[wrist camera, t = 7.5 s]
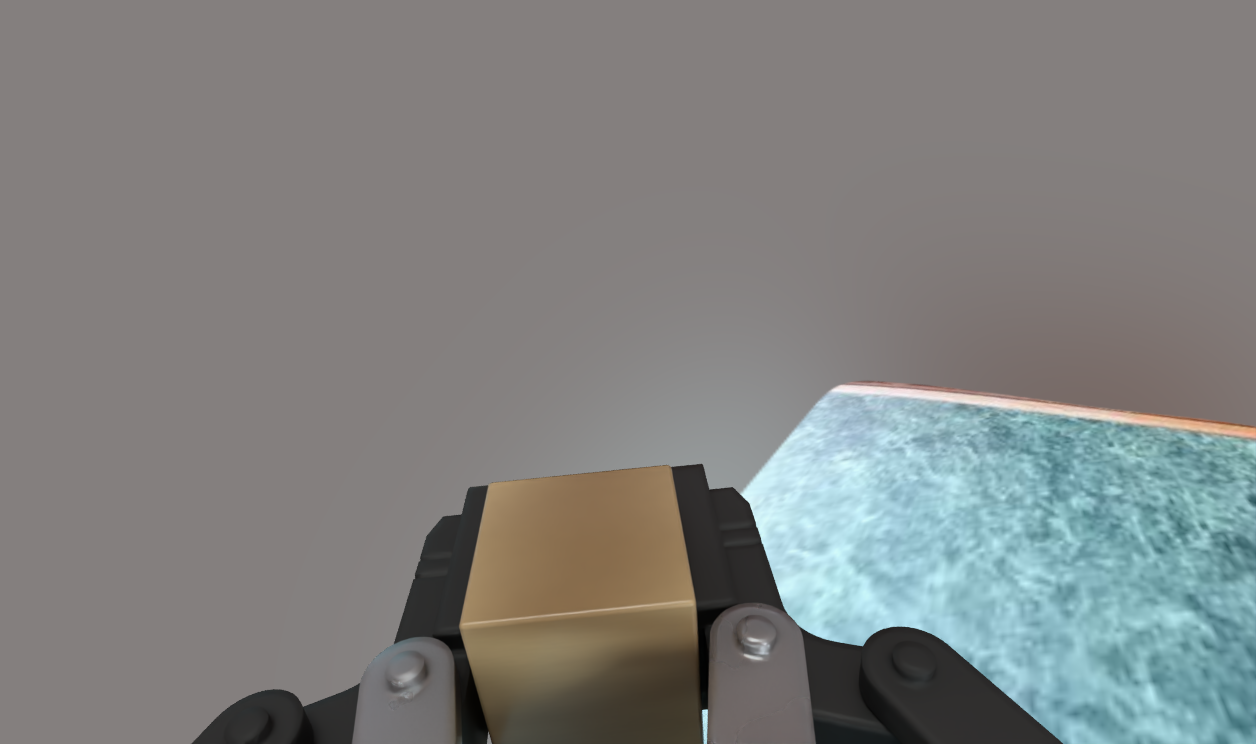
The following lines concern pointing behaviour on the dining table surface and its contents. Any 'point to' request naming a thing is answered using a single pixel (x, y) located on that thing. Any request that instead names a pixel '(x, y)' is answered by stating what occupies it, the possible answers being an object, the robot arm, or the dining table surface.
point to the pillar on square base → (584, 612)
